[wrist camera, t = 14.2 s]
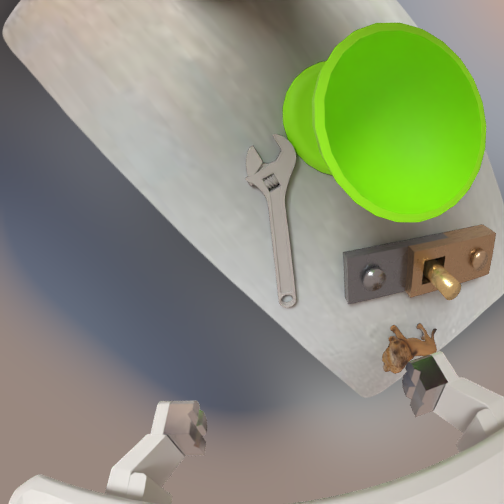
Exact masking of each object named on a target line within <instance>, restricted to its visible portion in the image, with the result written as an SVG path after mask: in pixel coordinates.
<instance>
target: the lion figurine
mask: <svg viewBox="0 0 504 504" xmlns="http://www.w3.org/2000/svg"><path fill="white" fill-rule="evenodd" d="M417 329H420V330H421V331H422V332H423V334H424V335H422V336H421V339H422V340H425V341H421V340H419V339H417V338H408V339H406V338H405V337H404V336H403V335H402V333H401V332H400V331H399V329H398V328H397V327H396V326H395V325H393V326H391V328H390V330H391V331H393V332H394V333H395V334H396V337H397V338H396V337H395V336H390V337H389V341H392V342H390V344H389V346H388V348H387V349H386V351H385V352H384V353H383V357H382V361H383V362H384V366H383V368H384V371H385V372H388V371H391V372H393V373H395V374H396V373H399V372H401V371H402V369H403V368H404V367H405V365H406V364H407V363H408V362H409V361H410V360H411V359H413V357H414V356H426V355H430V354H433V353H435V352H436V351H437V349H436V345H435V342H434V333H435V332H436V330H437V329H433V331H432V335H431V338H430V337H429V336H428V334H427V331H426V330H425V329H424V327H423V326H422V324H420V323H419V324H418V325H417Z"/></svg>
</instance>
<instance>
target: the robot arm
mask: <svg viewBox="0 0 504 504" xmlns="http://www.w3.org/2000/svg"><path fill="white" fill-rule="evenodd" d="M405 369H406V371H407V372H406V373H405V374H404V375H403V380H402V383H403V389H404V392H405V395H406V397H408V398H410V399H412V400H411V403H410V406H411V408H412V411H413V413H414V415H415V417H417V416H420V415H423V414H426V413H428V412H431V411H433V412H435V413H436V414H437V415H439V416H440V417H442V418H443V419H444V420H446V421H447V422H449V423H450V424H451V425H453V426H454V427H456V428H457V429H459V430H460V431H461V432H463V435H462V436H461V437H460V439H459V440H458V442H457V444H456V446H457V448H458V450H459V453H458V454H456V455H454V456H452V457H450V458H447V459H445V460H443V461H441V462H439V463H436V464H434V465H432V466H429V467H427V468H425V469H422V470H420V471H417V472H415V473H412V474H410V475H407V476H404V477H401V478H398V479H395V480H392V481H389V482H386V483H383V484H380V485H377V486H373V487H369V488H366V489H362V490H358V491H355V492H351V493H347V494H342V495H337V496H333V497H328V498H323V499H317V500H311V501H305V502H298V503H291V504H504V397H503V396H500V395H499V394H496V393H494V392H492V391H490V390H488V389H486V388H484V387H482V386H480V385H478V384H476V383H474V382H472V381H470V380H467V379H465V378H463V377H461V378H459V377H458V375H457V373H456V372H455V370H454V369H453V367H452V366H451V365H450V363H449V361H448V360H447V358H446V357H445V355H444V354H443V352H441V351H438V352H435V353H433V354H430V355H426V356H423V357H420V358H418V359H415V360H412V361H409V362H408V363H407V364H406V367H405ZM199 407H200V405H199V403H198V402H197V401H160V402H159V404H158V405H157V409H156V413H155V417H154V421H153V426H152V430H151V434H147V435H146V436H145V437H144V438H143V439H142V440H141V441H140V442H139V443H138V444H137V445H136V446H134V448H133V449H131V450H130V451H129V452H128V453H127V454H126V455H125V456H124V457H123V458H122V459H121V460H120V461H119V462H118V463H117V464H116V465H114V466H113V467H112V469H111V473H110V477H109V481H108V485H107V489H106V492H105V494H103V493H99V492H95V491H92V490H88V489H84V488H81V487H77V486H74V485H71V484H67V483H65V482H61V481H59V480H56V479H53V478H50V477H47V476H45V475H36V476H34V477H33V478H31V479H29V480H28V481H26V482H25V483H24V484H22V485H21V486H19V487H18V488H17V489H16V490H15V491H14V493H13V495H12V497H11V499H10V501H9V503H8V504H172V495H171V494H170V493H168V492H167V491H166V490H164V489H163V488H162V486H163V485H164V483H165V482H166V481H167V480H168V478H169V477H170V476H171V475H172V473H173V472H174V471H175V469H176V468H177V467H178V465H179V464H180V463H181V461H182V460H183V459H184V457H185V456H199V455H205V447H206V441H205V439H204V438H203V436H204V435H205V434H206V433H207V419H206V416H205V414H204V412H203V411H201V410H199Z"/></svg>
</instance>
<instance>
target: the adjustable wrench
mask: <svg viewBox="0 0 504 504" xmlns="http://www.w3.org/2000/svg"><path fill="white" fill-rule="evenodd" d="M273 137H274V139H275V140H276V142H277V144H278V145H279V147H280V149H281V152H280V154H279V155H278V157H277V159H276V160H275V161H273V162H271V163H268V164H266V163H262V162H263V161H262V160H261V158H260V156H259V155H258V153H257V151H256V150H255V148H254V147H253V146H251V147H250V148H249V150H248V153H247V157H246V169H247V174H248V176H247V177H246V178H245V180H246V181H247V182H248V183H249V184H250V186H252V185H253V184H254V185H256V186H257V187H258V188H259V189H260V190H261V191H262V192H263V194H264V195H265V197H266V199H267V202H268V209H269V217H270V226H271V235H272V244H273V253H274V262H275V271H276V280H277V290H278V299H279V304H280V305H281V306H282V307H285V308H289V307H291V306H293V305H294V304H295V302H296V294H295V284H294V275H293V266H292V257H291V249H290V241H289V232H288V224H287V217H286V209H285V193H286V189H287V185H288V182H289V179H290V176H291V173H292V171H293V168H294V166H295V163H296V153H295V150H294V147H293V145H292V144H291V143H290V142H289V141H288V140H287V139H286V138H285V137H283V136H281V135H278V134H273ZM273 174H274V175H273ZM270 175H272V176H270ZM268 176H269V177H268ZM265 178H267V179H265ZM263 179H264V180H263ZM278 182H279V184H280V185H278V186H277V183H278ZM274 185H276V186H277V187H275V186H274ZM271 186H273V187H275V188H273V189H272V187H271ZM269 187H270V188H271V190H269V189H268V188H269ZM285 295H292V300H291V301H289V302H283V301H282V297H283V296H285Z"/></svg>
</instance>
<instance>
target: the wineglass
mask: <svg viewBox="0 0 504 504" xmlns="http://www.w3.org/2000/svg"><path fill="white" fill-rule="evenodd" d="M283 125H284V128H285V132H286V135H287V138H288V141H289V142H290V143H291V144H292V145H293V147H294V150H295V152H296V154H298V155H299V156H300V157H301V158H302V159H303V160H304V161H305V162H306V163H307V164H308V165H309V166H311V167H313V168H315V169H316V170H318V171H320V172H322V173H326V174H329V175H333V177H334V179H335V180H336V182H337V183H338V184H339V185H340V186H341V187H342V188H343V190H344V191H345V192H346V193H347V194H348V195H349V196H350V197H351V198H352V199H353V201H354V202H355V203H357V204H358V205H360V206H362V207H363V208H365V209H366V210H368V211H369V212H371V213H372V214H374V215H375V216H378V217H382V218H385V219H388V220H392V221H395V222H421V221H424V220H428V219H431V218H434V217H437V216H439V215H441V214H442V213H444V212H445V211H447V210H448V209H450V208H451V207H453V206H454V205H456V204H457V203H458V201H459V200H460V199H461V198H462V197H463V196H464V195H465V194H466V192H467V191H468V190H469V189H470V187H471V185H472V183H473V181H474V180H475V178H476V176H477V174H478V172H479V170H480V166H481V162H482V159H483V155H484V151H485V142H486V141H485V140H486V121H485V115H484V109H483V103H482V100H481V97H480V94H479V92H478V89H477V87H476V84H475V81H474V79H473V78H472V76H471V74H470V73H469V71H468V69H467V68H466V66H465V65H464V63H463V62H462V61H461V59H460V58H459V57H458V56H457V55H456V54H455V53H454V52H453V51H452V50H451V49H450V48H449V47H448V46H447V45H446V44H445V43H444V42H443V41H441V40H439V39H438V38H436V37H435V36H433V35H431V34H430V33H428V32H426V31H425V30H423V29H420V28H417V27H413V26H410V25H406V24H402V23H375V24H372V25H370V26H367V27H364V28H361V29H359V30H356V31H354V32H352V33H351V34H350V35H349V36H348V37H346V38H345V39H344V40H343V41H342V42H340V43H339V44H338V45H337V46H336V47H335V48H334V50H333V51H332V53H331V55H330V56H329V58H328V60H327V61H324V62H319V63H317V64H315V65H312V66H310V67H308V68H306V69H305V70H304V71H303V72H302V73H301V74H299V75H298V76H297V77H296V78H295V79H294V81H293V82H292V84H291V86H290V87H289V89H288V91H287V92H286V96H285V100H284V104H283Z"/></svg>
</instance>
